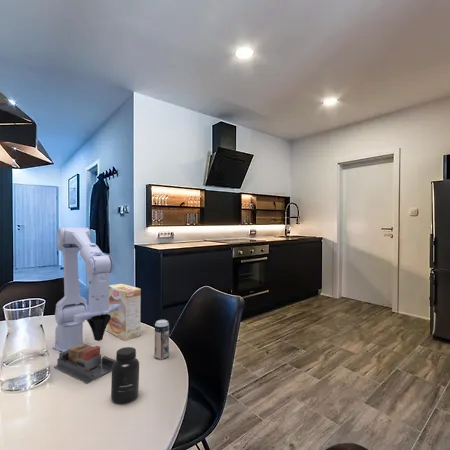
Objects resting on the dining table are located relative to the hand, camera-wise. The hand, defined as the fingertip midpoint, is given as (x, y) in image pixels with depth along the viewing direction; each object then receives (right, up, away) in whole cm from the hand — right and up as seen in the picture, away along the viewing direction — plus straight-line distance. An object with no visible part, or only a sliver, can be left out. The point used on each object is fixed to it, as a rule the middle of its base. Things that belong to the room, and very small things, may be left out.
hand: (98, 339), depth 86 cm
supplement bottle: (+13, -10, -12) cm, 20 cm away
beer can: (+17, -10, +11) cm, 23 cm away
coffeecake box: (-4, -10, +31) cm, 33 cm away
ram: (-4, -9, +2) cm, 10 cm away
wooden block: (-8, -9, +4) cm, 13 cm away
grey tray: (-5, -10, +3) cm, 11 cm away
